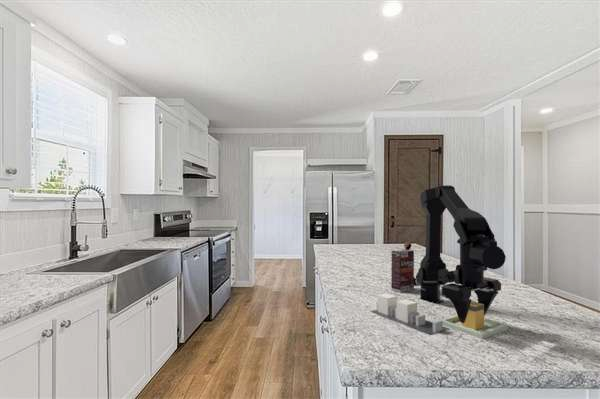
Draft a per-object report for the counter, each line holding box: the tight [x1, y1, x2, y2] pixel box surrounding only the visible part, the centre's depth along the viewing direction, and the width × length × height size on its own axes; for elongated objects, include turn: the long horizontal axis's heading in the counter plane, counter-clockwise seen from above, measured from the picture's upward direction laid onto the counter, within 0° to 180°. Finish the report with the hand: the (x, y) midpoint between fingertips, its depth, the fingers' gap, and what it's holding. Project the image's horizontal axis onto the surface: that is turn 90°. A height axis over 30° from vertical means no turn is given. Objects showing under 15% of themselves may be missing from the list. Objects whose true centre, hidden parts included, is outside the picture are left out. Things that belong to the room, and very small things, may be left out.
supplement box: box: [390, 248, 415, 293], centre depth 134 cm, size 9×5×16 cm, turn 123°
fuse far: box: [377, 293, 398, 315], centre depth 102 cm, size 4×4×5 cm
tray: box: [438, 313, 510, 340], centre depth 90 cm, size 12×12×2 cm
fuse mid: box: [396, 298, 418, 323], centre depth 96 cm, size 4×4×5 cm
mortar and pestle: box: [403, 241, 417, 286], centre depth 144 cm, size 7×6×18 cm
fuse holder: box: [370, 301, 450, 336], centre depth 95 cm, size 8×22×4 cm, turn 31°
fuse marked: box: [460, 300, 485, 331], centre depth 90 cm, size 4×4×7 cm
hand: (472, 319), depth 90 cm, fingers open, 9 cm apart
